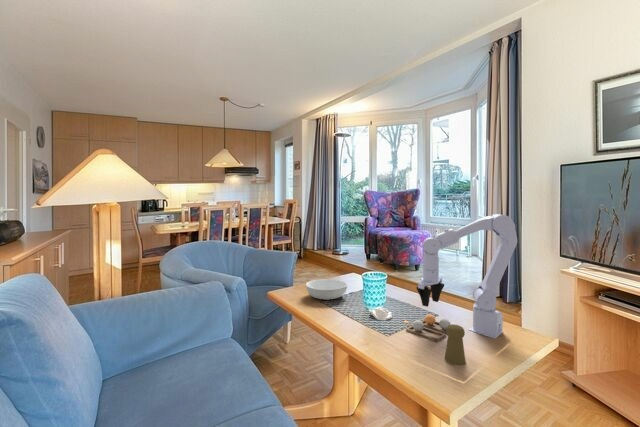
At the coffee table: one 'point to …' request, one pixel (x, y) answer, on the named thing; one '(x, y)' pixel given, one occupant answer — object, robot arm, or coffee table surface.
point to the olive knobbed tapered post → (455, 345)
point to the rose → (381, 314)
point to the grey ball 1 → (418, 325)
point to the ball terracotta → (430, 319)
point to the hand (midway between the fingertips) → (430, 303)
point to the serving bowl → (326, 288)
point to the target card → (406, 322)
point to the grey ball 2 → (444, 324)
